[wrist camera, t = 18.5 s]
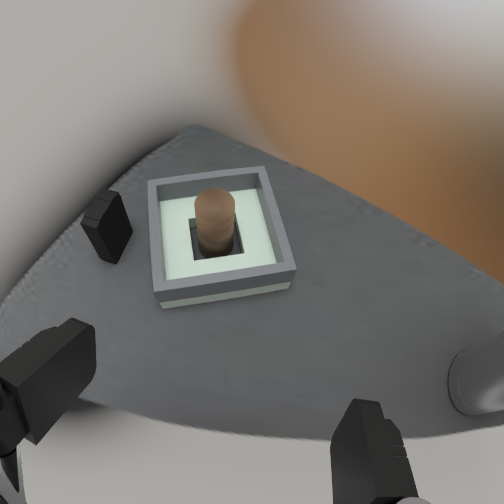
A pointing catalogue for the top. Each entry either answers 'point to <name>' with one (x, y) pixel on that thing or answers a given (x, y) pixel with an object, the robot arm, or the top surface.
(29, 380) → the robot arm
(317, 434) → the top surface
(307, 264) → the top surface
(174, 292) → the socket box
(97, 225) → the ink cartridge
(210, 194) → the peg
